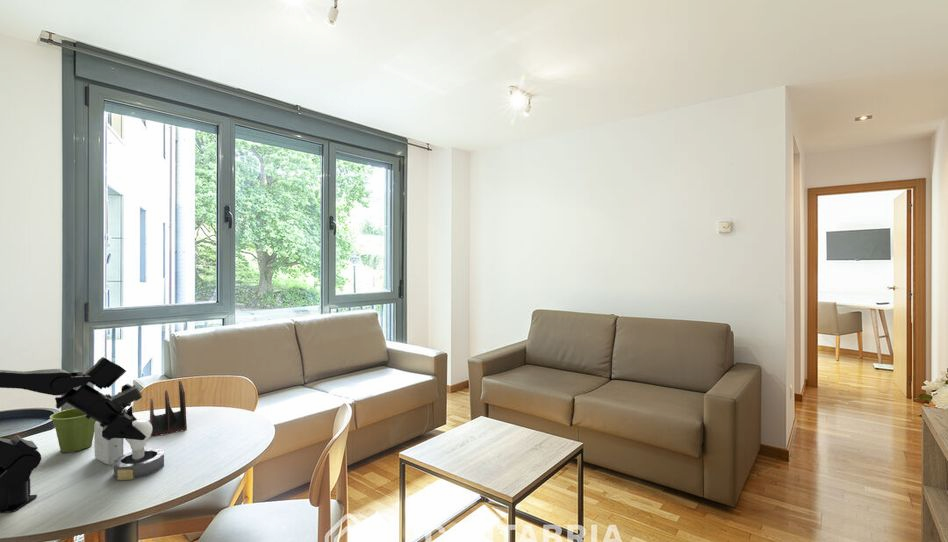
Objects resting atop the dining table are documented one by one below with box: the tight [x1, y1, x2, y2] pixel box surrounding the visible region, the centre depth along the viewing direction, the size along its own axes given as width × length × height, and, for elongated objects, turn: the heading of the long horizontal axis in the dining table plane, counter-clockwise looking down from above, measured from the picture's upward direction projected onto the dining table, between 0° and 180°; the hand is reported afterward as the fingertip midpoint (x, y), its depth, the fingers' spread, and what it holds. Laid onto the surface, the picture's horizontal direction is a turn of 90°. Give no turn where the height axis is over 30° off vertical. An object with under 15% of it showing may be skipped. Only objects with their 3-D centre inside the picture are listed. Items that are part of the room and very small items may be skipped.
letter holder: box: [149, 380, 188, 437], centre depth 154 cm, size 10×20×14 cm, turn 38°
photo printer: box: [93, 421, 124, 466], centre depth 127 cm, size 10×4×12 cm, turn 60°
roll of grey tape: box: [113, 448, 165, 481], centre depth 121 cm, size 12×11×4 cm
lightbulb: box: [125, 419, 153, 460], centre depth 121 cm, size 6×6×11 cm
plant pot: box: [49, 407, 96, 453], centre depth 135 cm, size 12×12×11 cm
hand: (144, 434), depth 122 cm, fingers closed on lightbulb, 6 cm apart
